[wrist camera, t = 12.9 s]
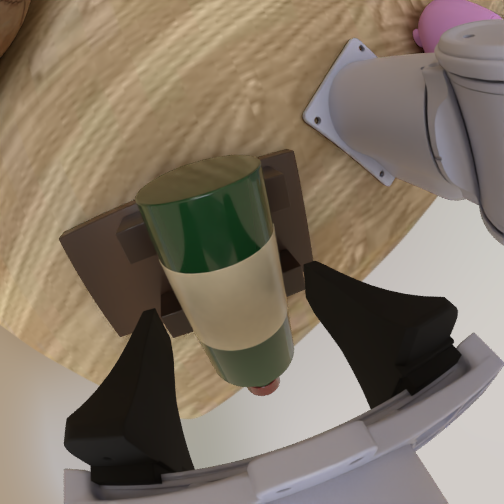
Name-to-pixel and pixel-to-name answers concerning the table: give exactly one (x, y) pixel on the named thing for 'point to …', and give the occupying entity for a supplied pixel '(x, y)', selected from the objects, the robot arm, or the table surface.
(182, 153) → the table surface
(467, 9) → the teapot
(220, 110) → the table surface
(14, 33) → the skull
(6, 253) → the table surface
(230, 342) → the wine bottle
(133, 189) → the table surface
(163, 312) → the wine rack
